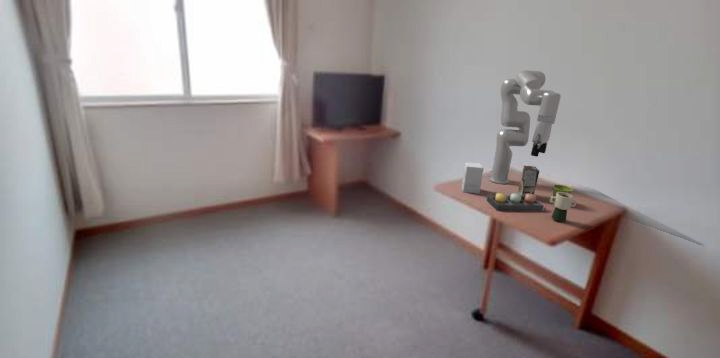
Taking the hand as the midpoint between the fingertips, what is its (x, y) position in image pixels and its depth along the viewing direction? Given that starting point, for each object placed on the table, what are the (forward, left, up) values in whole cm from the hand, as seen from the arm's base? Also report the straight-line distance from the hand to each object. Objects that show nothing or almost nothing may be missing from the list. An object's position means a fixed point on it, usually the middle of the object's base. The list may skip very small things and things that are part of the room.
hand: (537, 154), depth 180 cm
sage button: (-2, -5, -26) cm, 27 cm away
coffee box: (-16, +8, -28) cm, 33 cm away
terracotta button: (-2, +2, -26) cm, 26 cm away
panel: (-2, -6, -28) cm, 29 cm away
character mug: (+14, +8, -28) cm, 33 cm away
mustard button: (-2, -13, -26) cm, 29 cm away
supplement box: (-23, -21, -28) cm, 42 cm away
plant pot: (-7, +22, -28) cm, 37 cm away
